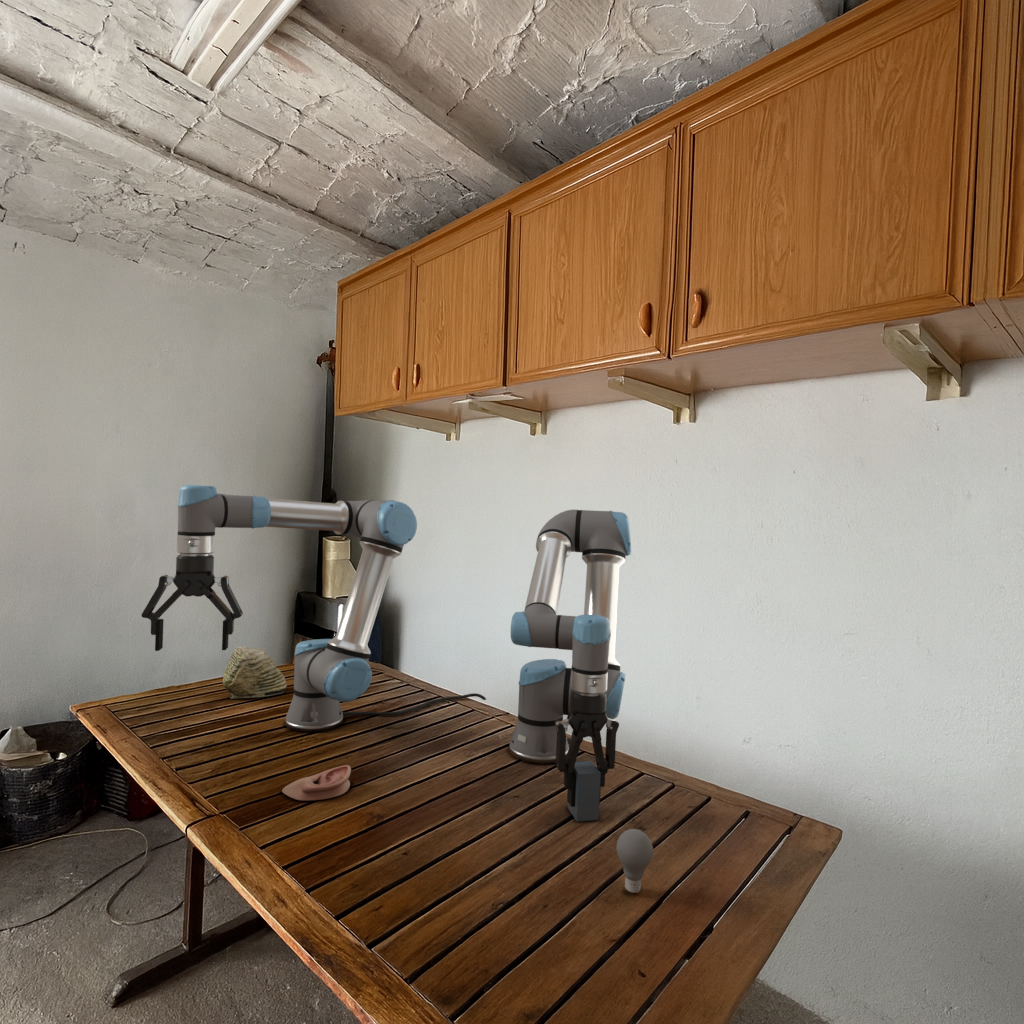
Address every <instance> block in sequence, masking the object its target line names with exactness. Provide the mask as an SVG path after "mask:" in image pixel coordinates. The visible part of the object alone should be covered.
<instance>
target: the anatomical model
mask: <svg viewBox="0 0 1024 1024" xmlns="http://www.w3.org/2000/svg"><path fill="white" fill-rule="evenodd" d="M351 772H352V768H351V765H349V764H346V765H345V764H344V765H340V766H337V767H333V768H330V769H326V770H324V771H321V772H319V773H316V774H313V775H311V776H306V777H302V778H299V779H297V780H295V781H293V782H291V783H289V784H287V785H286V786H284V787H283V788H282V790H281V792H282V793H283V794H284V795H286V796H287V797H289V798H291V799H294V800H297V801H302V802H303V801H305V802H308V801H319V800H326V799H331V798H335V797H338V796H342V795H343V794H345V793H346V792H348V790H349V789H350V787H351V781H350V780H349V779H350V776H351Z"/></svg>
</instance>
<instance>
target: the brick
mask: <svg viewBox="0 0 1024 1024" xmlns="http://www.w3.org/2000/svg"><path fill="white" fill-rule="evenodd" d="M573 772H574V773H575V774H576V789H575V807H571V806H570V804H569V803H568V802H567V809H568V810H569V813H570V814H571V815H572V817H573V818H574V820H575V821H576V822H589V821H591V822H592V821H599V816H600V805H599V797H600V798H601V791H600V776H601V772H600V771H599V770H598V767H597V765H596V764H594V762H593V761H592V760H582V761H576V762H575V766H574V769H573Z"/></svg>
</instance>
